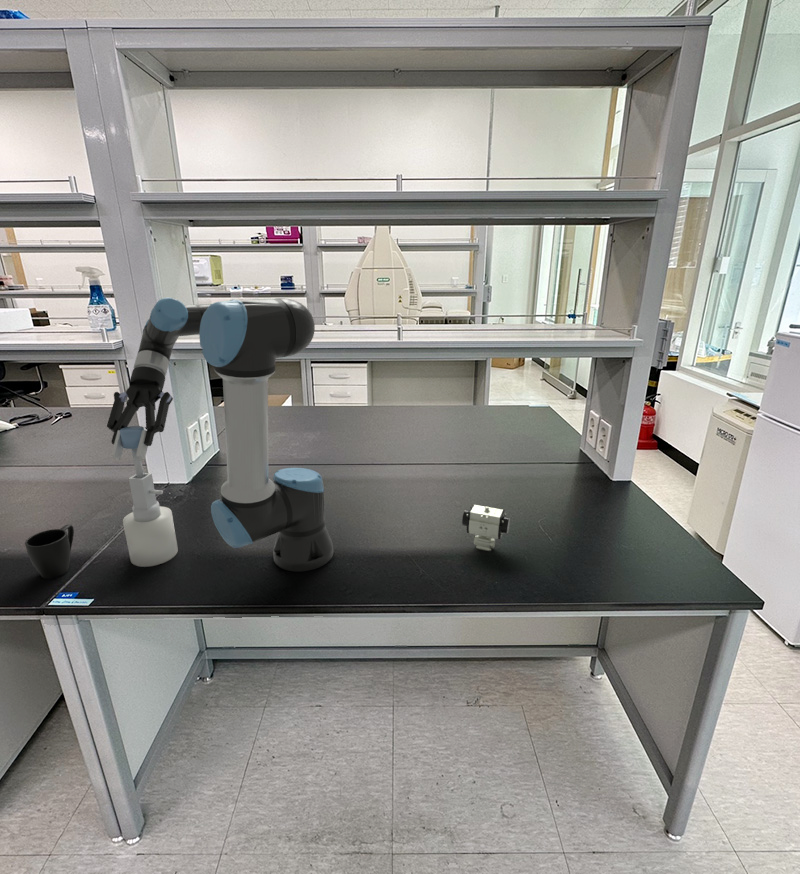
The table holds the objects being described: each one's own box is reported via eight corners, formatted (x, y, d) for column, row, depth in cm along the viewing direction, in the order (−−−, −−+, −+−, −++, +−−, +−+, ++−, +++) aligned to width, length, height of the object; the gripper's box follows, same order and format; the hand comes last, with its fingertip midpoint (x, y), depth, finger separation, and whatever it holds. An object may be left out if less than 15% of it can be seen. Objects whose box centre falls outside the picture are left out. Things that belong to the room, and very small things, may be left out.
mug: (93, 554, 125) (86, 522, 122) (58, 583, 114) (49, 547, 111) (63, 553, 126) (55, 520, 123) (25, 581, 114) (15, 545, 111)
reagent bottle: (186, 545, 130) (174, 468, 123) (161, 568, 120) (146, 487, 112) (148, 541, 131) (134, 466, 124) (120, 564, 121) (103, 483, 114)
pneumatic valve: (464, 538, 134) (467, 499, 130) (507, 547, 130) (511, 507, 126) (459, 548, 129) (461, 508, 125) (504, 558, 125) (507, 516, 121)
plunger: (156, 476, 121) (148, 426, 116) (143, 484, 116) (134, 433, 112) (138, 475, 121) (129, 425, 117) (124, 483, 117) (114, 431, 112)
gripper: (191, 381, 126) (173, 464, 116) (120, 381, 126) (97, 464, 116) (179, 364, 120) (160, 451, 110) (105, 364, 119) (79, 451, 109)
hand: (128, 457), depth 113 cm, fingers closed on plunger, 5 cm apart
